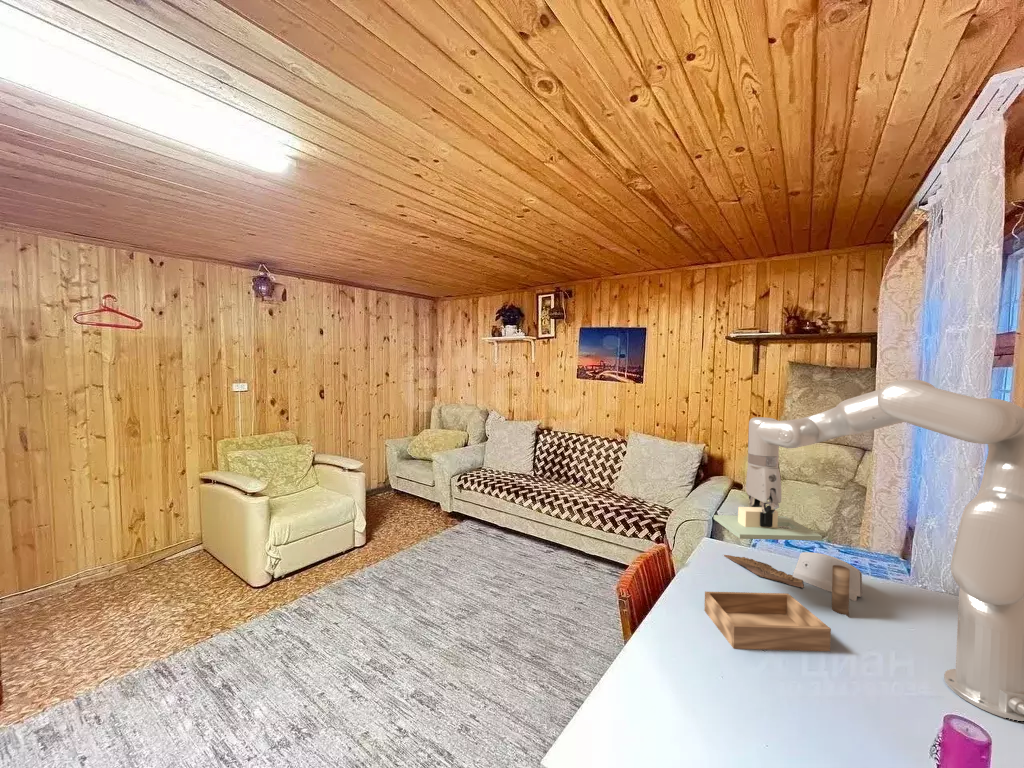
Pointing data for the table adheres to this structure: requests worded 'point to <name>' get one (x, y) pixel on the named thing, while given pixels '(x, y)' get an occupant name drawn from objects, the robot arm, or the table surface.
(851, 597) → the white curved device casing
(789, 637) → the box with square hole
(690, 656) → the table surface
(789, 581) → the wooden fragment
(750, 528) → the lid
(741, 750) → the table surface
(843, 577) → the pin
